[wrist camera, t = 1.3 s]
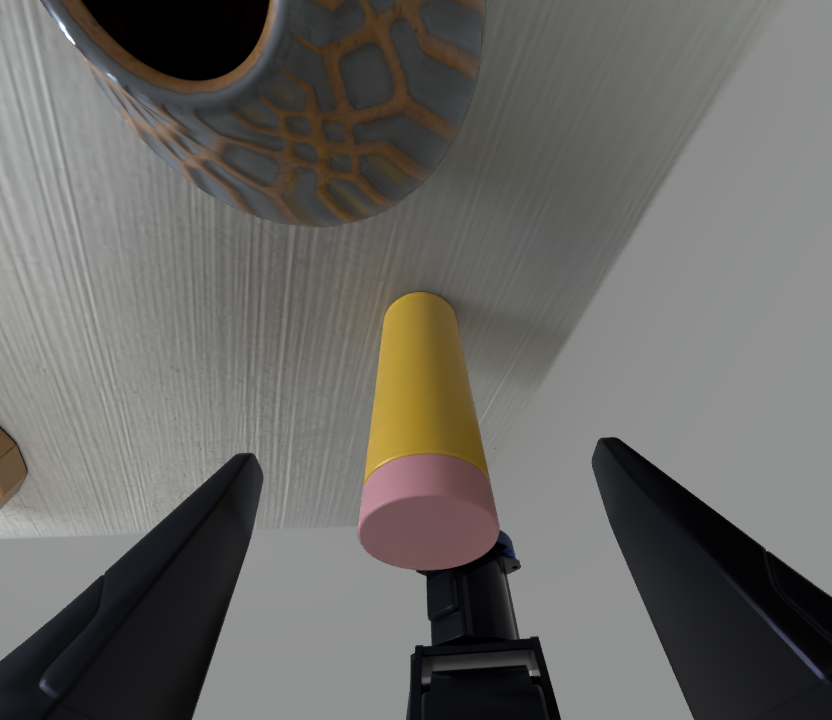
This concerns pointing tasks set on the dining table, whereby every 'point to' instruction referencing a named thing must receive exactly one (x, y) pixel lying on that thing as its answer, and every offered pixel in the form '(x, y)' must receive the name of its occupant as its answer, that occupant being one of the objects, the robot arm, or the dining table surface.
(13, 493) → the wooden ring
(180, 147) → the vase
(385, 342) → the pencil stub
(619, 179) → the dining table surface
